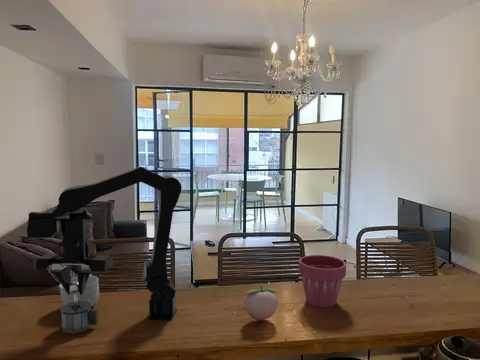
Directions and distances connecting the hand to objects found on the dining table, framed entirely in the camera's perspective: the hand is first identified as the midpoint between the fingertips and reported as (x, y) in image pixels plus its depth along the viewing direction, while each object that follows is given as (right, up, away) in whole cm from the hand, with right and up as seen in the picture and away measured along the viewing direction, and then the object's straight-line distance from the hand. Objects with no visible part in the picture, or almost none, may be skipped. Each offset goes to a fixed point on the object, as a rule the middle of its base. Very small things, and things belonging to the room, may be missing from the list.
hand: (75, 294), depth 105 cm
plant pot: (+68, -8, +18) cm, 71 cm away
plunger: (0, -5, 0) cm, 5 cm away
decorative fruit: (+49, -9, +4) cm, 50 cm away
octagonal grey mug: (0, -9, +1) cm, 9 cm away
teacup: (-4, -8, +15) cm, 18 cm away
